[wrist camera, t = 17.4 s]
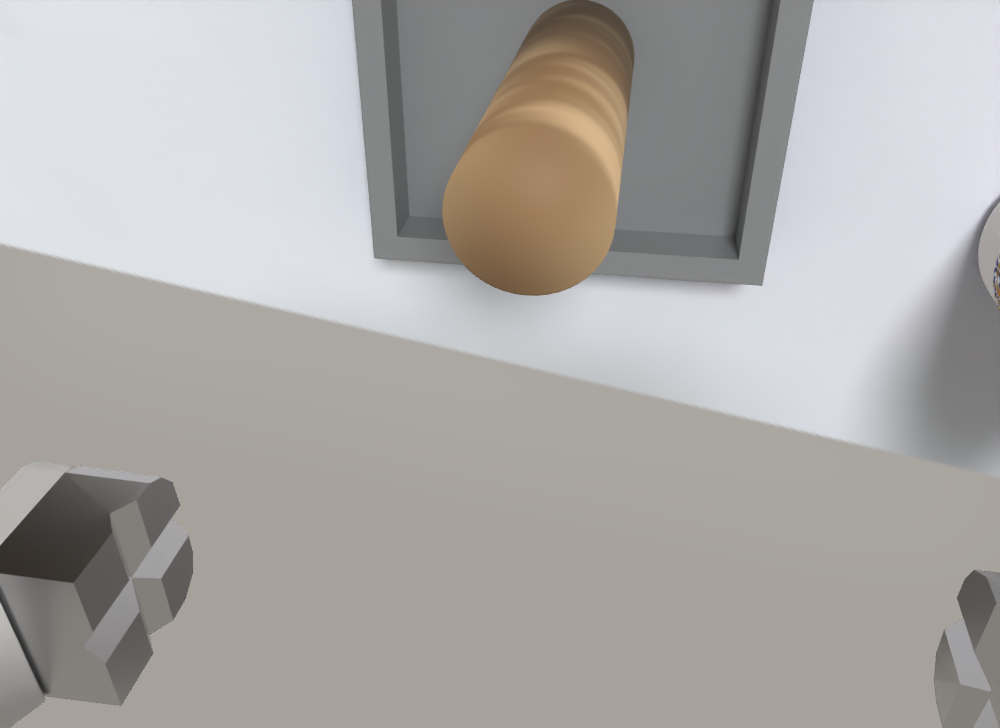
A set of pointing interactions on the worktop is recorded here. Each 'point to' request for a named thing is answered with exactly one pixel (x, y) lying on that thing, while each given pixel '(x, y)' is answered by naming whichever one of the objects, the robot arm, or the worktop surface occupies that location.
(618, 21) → the dowel
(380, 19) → the tray
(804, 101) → the worktop surface
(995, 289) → the bath foam
